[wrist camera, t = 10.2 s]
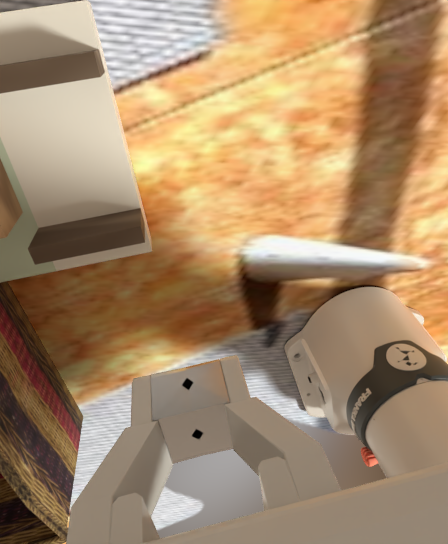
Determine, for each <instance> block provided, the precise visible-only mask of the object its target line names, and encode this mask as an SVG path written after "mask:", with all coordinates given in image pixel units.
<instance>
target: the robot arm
mask: <svg viewBox="0 0 448 544" xmlns="http://www.w3.org/2000/svg"><path fill="white" fill-rule="evenodd" d="M423 323H424V318H423V316H422V315H421V314H420V312H418V311H417V310H414V309H412V308H409V307H406V306H405V305H404V304H403V302H402V301H401V300H400V299H399V297H398V296H396V295H395V294H394V293H392V292H391V291H389V290H386V289H383V288H378V287H362V288H356V289H352V290H349V291H346V292H344V293H341V294H339V295H337V296H335V297H334V298H332V299H330V300H329V301H328V302H326V303H325V304H324V305H322V306H321V307H320V308H319V309H318V310H317V311H316V312H315V313H314V314H313V315H312V317H311V318H310V320H309V321H308V322H307V324H306V325H305V327H304V328H303V329H302V330H301V331H300V332H299V333H298V334H296V335H295V336H294V337H292V338H291V339H290V340H289V341H288V342H287V343H286V344H285V347H284V349H285V352H286V355H287V358H288V361H289V364H290V367H291V370H292V373H293V375H294V378H295V381H296V384H297V387H298V390H299V393H300V396H301V399H302V401H303V404H304V407H305V409H306V411H307V413H308V414H309V415H310V416H314V417H327V419H328V421H329V423H330V425H331V427H332V428H333V430H335V431H336V432H338V433H341V434H349V435H351V434H355V435H356V437H357V438H358V439H359V440H361V442H362V443H363V444H364V445H365V446H366V447H364V448H362V449H361V454H362V457H363V460H364V462H365V464H366V465H367V466H368V467H371V466H373V465H375V464H377V463H379V465H380V467H381V468H382V470H383V472H384V474H385V475H386V477H387V479H383V480H379V481H375V482H372V483H368V484H364V485H360V486H356V487H353V488H349V489H345V490H341V488H340V486H339V484H338V481H337V479H336V478H335V475H334V472H333V470H332V468H331V466H330V463H329V461H328V459H327V457H326V455H325V452H324V450H323V448H322V445H321V444H320V443H318V442H317V441H316V440H314V439H313V438H311V437H310V436H309V435H307V434H306V433H304V432H303V431H302V430H300V429H299V428H298V427H296V426H295V425H294V424H292V423H291V422H289V421H288V420H287V419H285V418H284V417H283V416H281V415H280V414H278V413H277V412H276V411H274V410H273V409H272V408H270V407H269V406H267V405H266V404H265V403H263V402H262V401H261V400H259V399H258V398H257V397H253V398H250V394H249V391H248V388H247V385H246V381H245V378H244V375H243V372H242V368H241V365H240V362H239V359H238V357H237V355H234V356H230V357H226V358H222V359H220V360H219V359H218V360H214V361H210V362H206V363H201V364H197V365H193V366H189V367H185V368H181V369H176V370H171V371H166V372H161V373H156V374H152V375H148V376H143V377H138V378H134V379H133V382H132V406H131V427H128V428H125V430H124V431H123V433H122V434H121V436H120V437H119V439H118V440H117V441H116V443H115V444H114V446H113V447H112V449H111V450H110V452H109V453H108V455H107V456H106V458H105V459H104V460H103V462H102V463H101V465H100V466H99V468H98V469H97V471H96V472H95V474H94V475H93V477H92V478H91V479H90V481H89V482H88V484H87V485H86V487H85V488H84V490H83V491H82V493H81V494H80V496H79V497H78V498H77V500H76V501H75V503H74V504H73V506H72V508H71V514H70V521H69V528H68V534H67V541H66V544H448V364H447V363H446V361H447V358H446V355H445V354H444V352H443V351H442V350H441V348H440V347H439V346H438V345H437V343H436V342H435V341H434V339H433V338H432V337H431V336H430V334H429V333H428V332H427V331H426V329H425V328H424V327H423V326H422V325H423ZM297 353H298V354H297ZM295 354H296V355H295ZM229 449H234V451H235V452H236V453H237V454H238V455H239V456H240V457H241V458H242V459H243V460H244V461H245V462H246V463H247V464H248V465H249V466H250V467H251V469H252V470H253V471H254V472H255V473H256V474H257V475H258V476H259V478H260V485H261V491H262V499H263V505H264V511H262V512H258V513H255V514H251V515H247V516H243V517H239V518H236V519H232V520H228V521H224V522H221V523H217V524H214V525H209V526H206V527H202V528H198V529H194V530H190V531H187V532H183V533H179V534H176V535H172V536H168V537H164V538H160V537H159V535H158V533H157V530H156V528H155V526H154V523H153V521H152V519H151V515H152V513H153V511H154V508H155V506H156V504H157V502H158V499H159V497H160V495H161V492H162V490H163V488H164V486H165V483H166V481H167V479H168V476H169V474H170V472H171V469H172V467H173V464H174V463H177V462H181V461H184V460H188V459H192V458H195V457H198V456H202V455H206V454H211V453H216V452H220V451H225V450H229Z"/></svg>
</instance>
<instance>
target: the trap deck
mask: <svg viewBox="0 0 448 544" xmlns="http://www.w3.org/2000/svg"><path fill="white" fill-rule="evenodd" d="M93 50H99V52H100V55H101V59H102V63H103V67H104V71H105V73H104V74H103V75H102V76H101V77H98V78H92V79H86V80H80V81H74V82H68V83H61V84H55V85H49V86H43V87H37V88H31V89H25V90H19V91H13V92H7V93H1V94H0V159H1V161H2V163H3V166H4V168H5V170H6V173H7V175H8V178H9V180H10V182H11V185H12V187H13V190H14V192H15V194H16V197H17V199H18V202H19V204H20V206H21V209H22V211H23V213H22V214H21V216H20V218H19V219H18V221H17V222H16V224H15V225H14V227H13V228H12V230H11V231H10V233H9V234H8V236H7V237H6V238H1V239H0V283H1V282H5V281H10V280H15V279H20V278H25V277H30V276H35V275H40V274H45V273H50V272H55V271H59V270H64V269H69V268H74V267H79V266H84V265H89V264H94V263H99V262H104V261H109V260H113V259H118V258H123V257H128V256H133V255H138V254H143V253H148V252H152V243H151V235H150V232H149V228H148V224H147V220H146V216H145V212H144V208H143V204H142V201H141V197H140V193H139V189H138V185H137V181H136V177H135V173H134V170H133V166H132V162H131V158H130V154H129V150H128V146H127V142H126V139H125V135H124V131H123V127H122V123H121V119H120V115H119V111H118V108H117V104H116V100H115V96H114V92H113V88H112V84H111V80H110V77H109V73H108V69H107V65H106V61H105V57H104V53H103V49H102V46H101V42H100V38H99V34H98V30H97V26H96V22H95V18H94V15H93V11H92V7H91V3H90V2H88V1H87V0H83V1H76V2H69V3H62V4H56V5H49V6H42V7H35V8H28V9H22V10H15V11H8V12H1V13H0V65H4V64H11V63H17V62H23V61H29V60H36V59H42V58H48V57H55V56H61V55H67V54H74V53H80V52H86V51H93ZM138 208H141V212H142V215H143V219H144V223H145V243H141V244H136V245H131V246H126V247H121V248H116V249H111V250H106V251H101V252H96V253H91V254H86V255H81V256H76V257H71V258H66V259H61V260H56V261H51V262H46V263H41V264H36V265H35V264H34V262H33V259H32V257H31V255H30V253H29V251H28V247H29V245H30V243H31V241H32V239H33V237H34V236H35V234H36V232H37V230H38V228H40V227H46V226H51V225H56V224H61V223H66V222H71V221H77V220H82V219H87V218H92V217H97V216H102V215H108V214H113V213H118V212H123V211H128V210H133V209H138Z"/></svg>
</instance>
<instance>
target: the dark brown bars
mask: <svg viewBox="0 0 448 544" xmlns="http://www.w3.org/2000/svg"><path fill="white" fill-rule="evenodd" d="M104 73H105V71H104V67H103V63H102V59H101V55H100V52H99V50H93V51H86V52H80V53H74V54H67V55H61V56H55V57H48V58H42V59H36V60H29V61H23V62H17V63H11V64H4V65H0V94H1V93H7V92H13V91H19V90H25V89H31V88H37V87H43V86H49V85H55V84H61V83H68V82H74V81H80V80H86V79H92V78H98V77H101V76H102V75H103V74H104ZM141 243H145V223H144V219H143V215H142V212H141V208H138V209H133V210H128V211H123V212H118V213H113V214H108V215H102V216H97V217H92V218H87V219H82V220H77V221H71V222H66V223H61V224H56V225H51V226H46V227H40V228H38V230H37V232H36V234H35V236H34V237H33V239H32V241H31V243H30V245H29V247H28V251H29V253H30V255H31V257H32V259H33V262H34V264H35V265H36V264H41V263H46V262H51V261H56V260H61V259H66V258H71V257H76V256H81V255H86V254H91V253H96V252H101V251H106V250H111V249H116V248H121V247H126V246H131V245H136V244H141Z"/></svg>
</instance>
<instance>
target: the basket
mask: <svg viewBox="0 0 448 544" xmlns="http://www.w3.org/2000/svg"><path fill="white" fill-rule="evenodd" d="M82 421H83V415H82V413H81V411H80V410H79V408H78V406H77V404H76V403H75V401H74V399H73V397H72V396H71V394H70V392H69V390H68V388H67V387H66V385H65V383H64V381H63V380H62V378H61V376H60V374H59V373H58V371H57V369H56V367H55V366H54V364H53V362H52V360H51V358H50V357H49V355H48V353H47V351H46V350H45V348H44V346H43V344H42V343H41V341H40V339H39V337H38V336H37V334H36V332H35V330H34V328H33V327H32V325H31V323H30V321H29V320H28V318H27V316H26V314H25V313H24V311H23V309H22V307H21V305H20V304H19V302H18V300H17V298H16V297H15V295H14V293H13V291H12V290H11V288H10V286H9V284H8V283H7V281H5V282H1V283H0V544H62V543H65V542H66V541H67V534H68V528H67V522H68V515H69V508H70V502H71V495H72V488H73V482H74V475H75V468H76V461H77V455H78V448H79V441H80V434H81V428H82Z"/></svg>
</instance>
